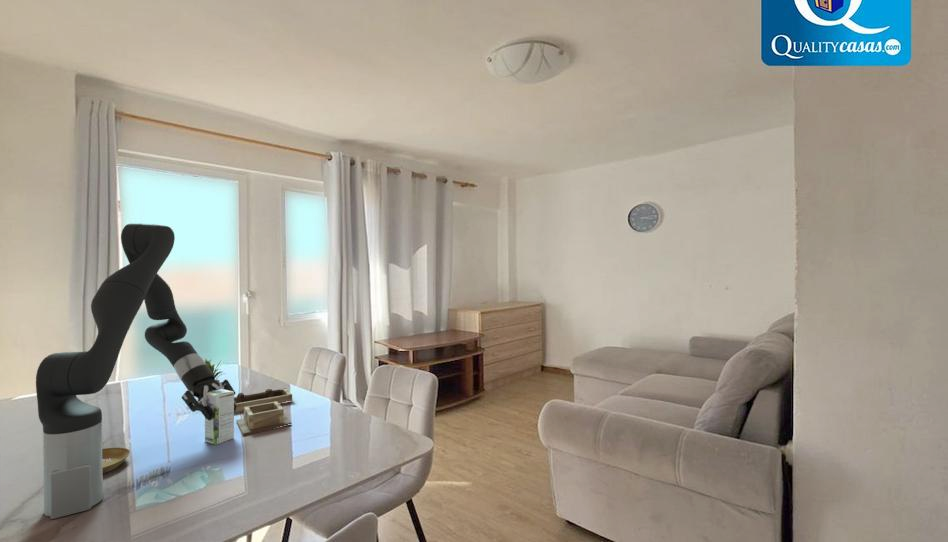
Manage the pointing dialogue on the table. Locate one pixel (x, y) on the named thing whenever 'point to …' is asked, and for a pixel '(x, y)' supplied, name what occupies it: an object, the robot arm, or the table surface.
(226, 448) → the table surface
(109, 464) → the plant saucer
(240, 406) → the bolt rack
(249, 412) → the socket
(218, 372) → the house plant
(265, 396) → the bolt
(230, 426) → the syrup box
